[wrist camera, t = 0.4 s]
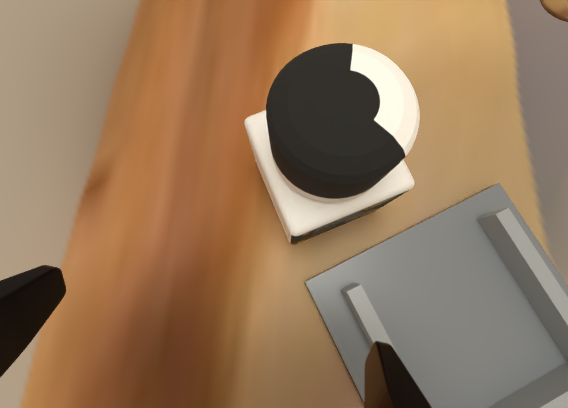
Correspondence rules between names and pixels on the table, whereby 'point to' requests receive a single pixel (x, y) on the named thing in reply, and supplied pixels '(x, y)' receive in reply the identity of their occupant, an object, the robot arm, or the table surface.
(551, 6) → the plastic bottle
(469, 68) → the table surface
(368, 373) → the robot arm
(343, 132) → the medicine bottle
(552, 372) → the bottle holder
